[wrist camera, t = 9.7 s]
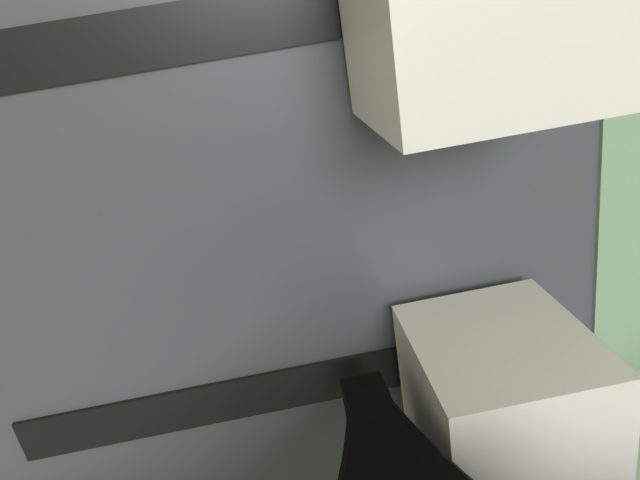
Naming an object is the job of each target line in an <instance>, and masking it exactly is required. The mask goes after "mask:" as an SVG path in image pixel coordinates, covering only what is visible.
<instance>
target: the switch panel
mask: <svg viewBox="0 0 640 480" xmlns="http://www.w3.org/2000/svg"><path fill="white" fill-rule="evenodd" d="M528 279H533V280H534V281H535V282H536V283H538V284H539V285H540V286H541V287H542V288H543V289H544V290H545V291H547V292H548V293H549V294H550V295H551V296H552V297H553V298H554V299H556V300H557V301H558V302H559V303H560V304H561V305H562V306H563V307H565V308H566V309H567V310H568V311H569V312H570V313H571V314H572V315H574V316H575V317H576V318H577V319H578V320H579V321H580V322H581V323H583V324H584V325H585V326H586V327H587V328H588V329H589V330H590V331H592V332H593V333H594V334H595V335H596V336H597V337H598V338H599V339H601V340H602V341H603V342H604V343H605V344H606V345H607V346H608V347H610V348H611V349H612V350H613V351H614V352H615V353H616V354H617V355H619V356H620V357H621V358H622V359H623V360H624V361H625V362H626V363H628V364H629V365H630V366H631V367H632V368H633V369H634V370H635V371H637V372H638V373H639V374H640V113H634V114H629V115H623V116H618V117H612V118H607V119H601V120H595V121H590V122H584V123H579V124H573V125H568V126H562V127H557V128H551V129H545V130H540V131H534V132H529V133H523V134H518V135H512V136H507V137H501V138H496V139H490V140H484V141H479V142H473V143H468V144H462V145H457V146H451V147H446V148H440V149H434V150H429V151H423V152H418V153H412V154H407V155H403V154H402V153H401V152H399V151H398V150H397V149H396V148H394V147H393V146H392V145H391V144H390V143H388V142H387V141H386V140H385V139H384V138H382V137H381V136H380V135H379V134H378V133H376V132H375V131H374V130H373V129H371V128H370V127H369V126H368V125H367V124H365V123H364V122H363V121H362V120H361V119H359V118H358V117H357V116H356V115H354V114H353V112H352V104H351V96H350V88H349V80H348V73H347V65H346V57H345V49H344V42H343V34H342V26H341V18H340V11H339V3H338V0H0V480H338V475H339V470H340V465H341V460H342V454H343V446H344V438H345V430H346V414H345V409H344V403H343V397H342V391H341V385H340V379H342V378H346V377H351V376H356V375H361V374H366V373H371V372H376V371H379V372H380V374H381V376H382V377H383V379H384V381H385V383H386V385H387V387H388V389H389V391H390V394H391V398H392V399H393V401H394V402H395V403H396V404H397V405H398V406H399V408H400V409H401V410H402V411H403V412H404V408H403V399H402V391H401V382H400V374H399V365H398V357H397V348H396V340H395V331H394V323H393V314H392V306H394V305H399V304H404V303H410V302H415V301H420V300H425V299H430V298H435V297H440V296H446V295H451V294H456V293H461V292H466V291H471V290H476V289H481V288H487V287H492V286H497V285H502V284H507V283H512V282H517V281H523V280H528ZM636 480H640V436H639V448H638V460H637V471H636Z"/></svg>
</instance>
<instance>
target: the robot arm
mask: <svg viewBox="0 0 640 480" xmlns="http://www.w3.org/2000/svg"><path fill="white" fill-rule="evenodd" d="M340 385H341V391H342V397H343V403H344V409H345V414H346V430H345V438H344V446H343V454H342V460H341V465H340V470H339V475H338V480H473V479H472V478H471V477H470V476H468V475H467V474H466V473H465V472H464V471H463V470H461V469H460V468H459V467H458V466H457V465H456V464H455V463H454V462H453V461H451V460H450V459H449V458H448V457H447V456H446V455H445V454H444V453H443V452H442V451H441V450H440V449H439V448H437V447H436V446H435V445H434V444H433V443H432V442H431V441H430V440H429V439H428V438H427V437H426V436H425V435H424V434H423V432H422V431H421V430H420V429H419V428H418V427H417V426H416V425H415V424H414V423H413V422H412V421H411V420H410V419H409V418H408V417H407V416H406V415H405V413H404V412H403V411H402V410H401V409H400V408H399V406H398V405H397V404H396V403H395V402H394V401H393V399H392V398H391V394H390V391H389V389H388V387H387V385H386V383H385V381H384V379H383V377H382V376H381V374H380V372H379V371H376V372H371V373H366V374H361V375H356V376H351V377H346V378H342V379H340Z"/></svg>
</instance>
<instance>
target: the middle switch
mask: <svg viewBox="0 0 640 480" xmlns="http://www.w3.org/2000/svg"><path fill="white" fill-rule="evenodd" d="M392 314H393V323H394V331H395V340H396V348H397V357H398V365H399V374H400V382H401V391H402V399H403V408H404V413H405V415H406V416H407V417H408V418H409V419H410V420H411V421H412V422H413V423H414V424H415V425H416V426H417V427H418V428H419V429H420V430H421V431H422V432H423V434H424V435H425V436H426V437H427V438H428V439H429V440H430V441H431V442H432V443H433V444H434V445H435V446H436V447H437V448H439V449H440V450H441V451H442V452H443V453H444V454H445V455H446V456H447V457H448V458H449V459H450V460H451V461H453V462H454V463H455V464H456V465H457V466H458V467H459V468H460V469H461V470H463V471H464V472H465V473H466V474H467V475H468V476H470V477H471V478H472V479H473V480H636V471H637V460H638V448H639V436H640V374H639V373H638V372H637V371H635V370H634V369H633V368H632V367H631V366H630V365H629V364H628V363H626V362H625V361H624V360H623V359H622V358H621V357H620V356H619V355H617V354H616V353H615V352H614V351H613V350H612V349H611V348H610V347H608V346H607V345H606V344H605V343H604V342H603V341H602V340H601V339H599V338H598V337H597V336H596V335H595V334H594V333H593V332H592V331H590V330H589V329H588V328H587V327H586V326H585V325H584V324H583V323H581V322H580V321H579V320H578V319H577V318H576V317H575V316H574V315H572V314H571V313H570V312H569V311H568V310H567V309H566V308H565V307H563V306H562V305H561V304H560V303H559V302H558V301H557V300H556V299H554V298H553V297H552V296H551V295H550V294H549V293H548V292H547V291H545V290H544V289H543V288H542V287H541V286H540V285H539V284H538V283H536V282H535V281H534V280H533V279H528V280H523V281H517V282H512V283H507V284H502V285H497V286H492V287H487V288H481V289H476V290H471V291H466V292H461V293H456V294H451V295H446V296H440V297H435V298H430V299H425V300H420V301H415V302H410V303H404V304H399V305H394V306H392Z"/></svg>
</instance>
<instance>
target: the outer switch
mask: <svg viewBox="0 0 640 480" xmlns="http://www.w3.org/2000/svg"><path fill="white" fill-rule="evenodd" d="M338 3H339V11H340V18H341V26H342V34H343V42H344V49H345V57H346V65H347V73H348V80H349V88H350V96H351V104H352V112H353V114H354V115H356V116H357V117H358V118H359V119H361V120H362V121H363V122H364V123H365V124H367V125H368V126H369V127H370V128H371V129H373V130H374V131H375V132H376V133H378V134H379V135H380V136H381V137H382V138H384V139H385V140H386V141H387V142H388V143H390V144H391V145H392V146H393V147H394V148H396V149H397V150H398V151H399V152H401V153H402V154H403V155H407V154H412V153H418V152H423V151H429V150H434V149H440V148H446V147H451V146H457V145H462V144H468V143H473V142H479V141H484V140H490V139H496V138H501V137H507V136H512V135H518V134H523V133H529V132H534V131H540V130H545V129H551V128H557V127H562V126H568V125H573V124H579V123H584V122H590V121H595V120H601V119H607V118H612V117H618V116H623V115H629V114H634V113H640V0H338Z"/></svg>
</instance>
